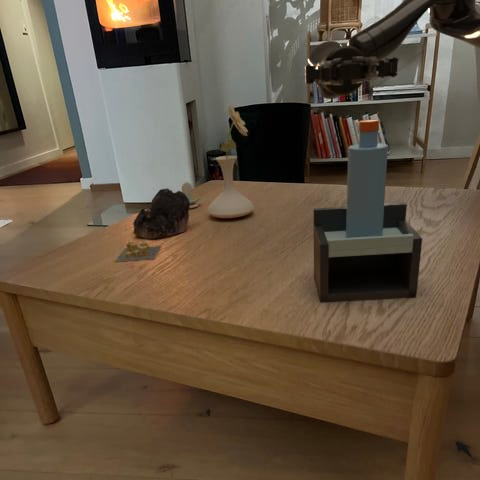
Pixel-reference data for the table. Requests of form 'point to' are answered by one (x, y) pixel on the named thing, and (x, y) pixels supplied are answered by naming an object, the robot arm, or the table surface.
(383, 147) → the plastic bottle
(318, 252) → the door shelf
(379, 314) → the table surface
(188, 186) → the pacifier
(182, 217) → the dark brown rock
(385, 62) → the robot arm
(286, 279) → the table surface
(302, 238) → the table surface
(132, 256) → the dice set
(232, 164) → the flower in vase
